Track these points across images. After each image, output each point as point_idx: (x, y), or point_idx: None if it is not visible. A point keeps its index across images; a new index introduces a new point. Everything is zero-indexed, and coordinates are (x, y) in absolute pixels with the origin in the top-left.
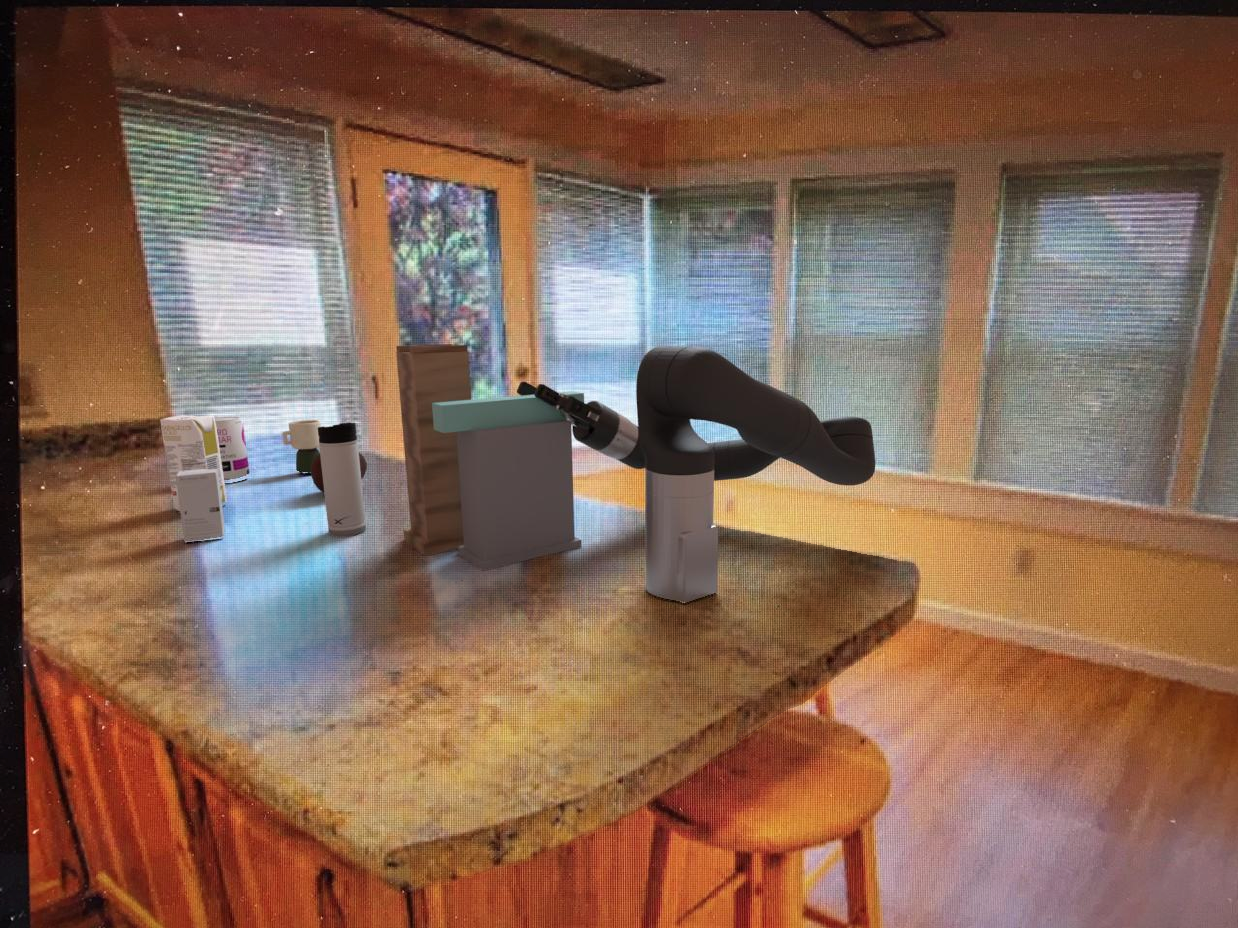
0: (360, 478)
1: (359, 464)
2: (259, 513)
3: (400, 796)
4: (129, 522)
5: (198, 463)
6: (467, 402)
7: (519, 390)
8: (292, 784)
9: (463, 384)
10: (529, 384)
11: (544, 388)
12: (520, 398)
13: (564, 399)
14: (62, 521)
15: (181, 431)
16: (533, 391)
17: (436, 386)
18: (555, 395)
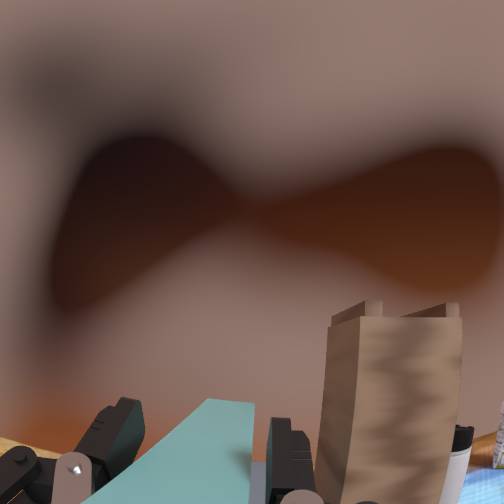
0: (440, 499)
1: (447, 483)
2: (494, 486)
3: (7, 445)
4: (471, 457)
5: (501, 429)
6: (212, 408)
7: (267, 443)
8: (47, 451)
9: (348, 397)
10: (272, 436)
11: (109, 408)
12: (173, 434)
13: (52, 462)
14: (473, 443)
15: (502, 401)
16: (269, 471)
17: (333, 389)
18: (84, 444)
